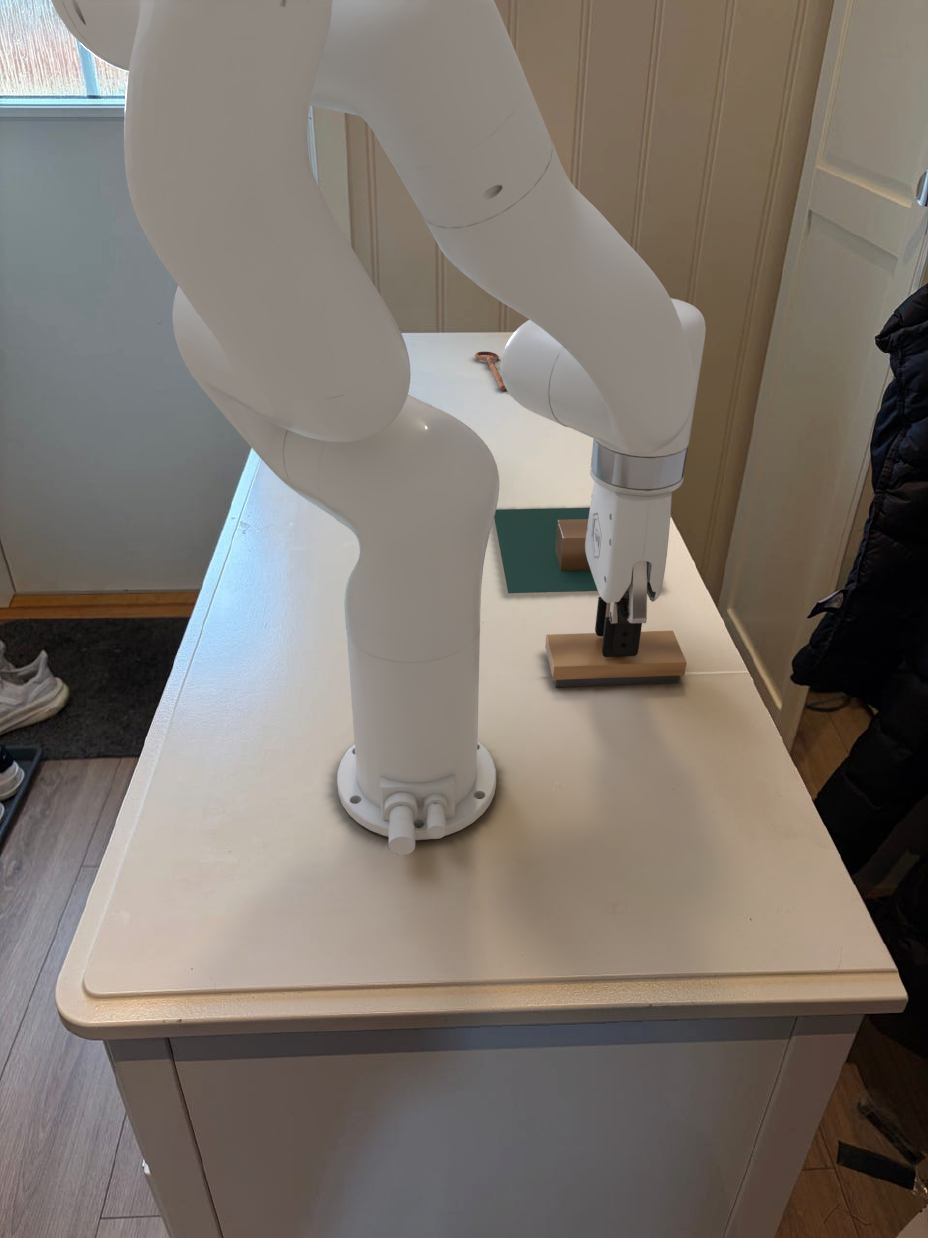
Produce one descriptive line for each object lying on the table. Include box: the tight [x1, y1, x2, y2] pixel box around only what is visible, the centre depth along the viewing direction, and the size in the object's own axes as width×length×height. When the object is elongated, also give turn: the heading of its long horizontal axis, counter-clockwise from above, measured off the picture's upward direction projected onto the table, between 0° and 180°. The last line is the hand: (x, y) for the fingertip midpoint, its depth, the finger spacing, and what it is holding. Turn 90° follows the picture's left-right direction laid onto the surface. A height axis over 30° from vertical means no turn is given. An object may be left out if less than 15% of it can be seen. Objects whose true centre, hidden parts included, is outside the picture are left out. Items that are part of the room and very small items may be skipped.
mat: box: [493, 507, 598, 594], centre depth 109 cm, size 18×16×1 cm
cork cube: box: [555, 519, 591, 571], centre depth 106 cm, size 4×4×4 cm
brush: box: [544, 600, 687, 688], centre depth 89 cm, size 5×12×8 cm, turn 94°
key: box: [474, 351, 507, 391], centre depth 153 cm, size 6×1×15 cm
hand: (615, 643), depth 90 cm, fingers closed on brush, 2 cm apart
